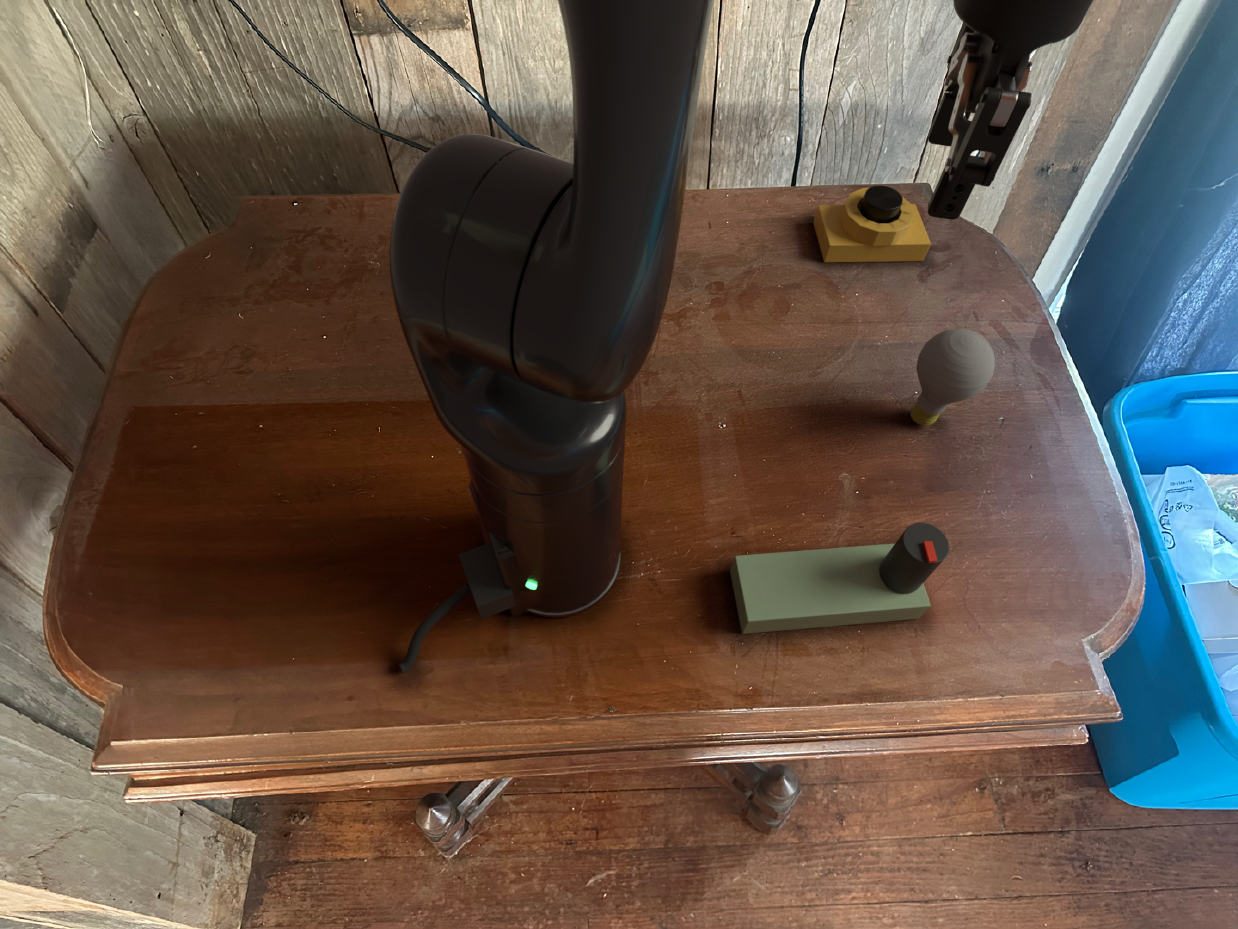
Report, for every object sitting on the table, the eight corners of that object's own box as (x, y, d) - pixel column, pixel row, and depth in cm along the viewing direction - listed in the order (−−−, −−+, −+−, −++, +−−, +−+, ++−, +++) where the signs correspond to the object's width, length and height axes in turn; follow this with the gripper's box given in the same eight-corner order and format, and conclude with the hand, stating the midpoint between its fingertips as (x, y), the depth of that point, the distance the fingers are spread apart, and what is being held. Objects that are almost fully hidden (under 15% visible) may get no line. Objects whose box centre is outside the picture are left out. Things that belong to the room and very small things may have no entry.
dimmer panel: (741, 634, 53) (747, 621, 51) (729, 570, 56) (734, 555, 54) (918, 619, 54) (931, 606, 52) (898, 556, 57) (909, 541, 55)
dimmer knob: (874, 555, 54) (899, 520, 49) (916, 554, 54) (944, 519, 50) (884, 594, 52) (910, 562, 48) (926, 593, 52) (956, 561, 48)
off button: (864, 224, 72) (869, 209, 70) (856, 200, 74) (861, 185, 72) (900, 224, 72) (907, 209, 70) (891, 199, 74) (897, 184, 72)
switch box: (824, 264, 74) (835, 231, 71) (812, 220, 77) (822, 187, 74) (923, 263, 74) (939, 230, 71) (907, 219, 78) (921, 186, 74)
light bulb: (955, 451, 62) (1010, 374, 54) (888, 440, 63) (933, 361, 54) (952, 400, 65) (1005, 319, 57) (889, 390, 65) (931, 308, 57)
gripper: (978, -132, 46) (892, 114, 59) (987, -18, 38) (886, 233, 52) (1106, -118, 45) (989, 128, 59) (1141, 1, 38) (997, 251, 51)
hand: (941, 177), depth 55 cm, fingers open, 8 cm apart
